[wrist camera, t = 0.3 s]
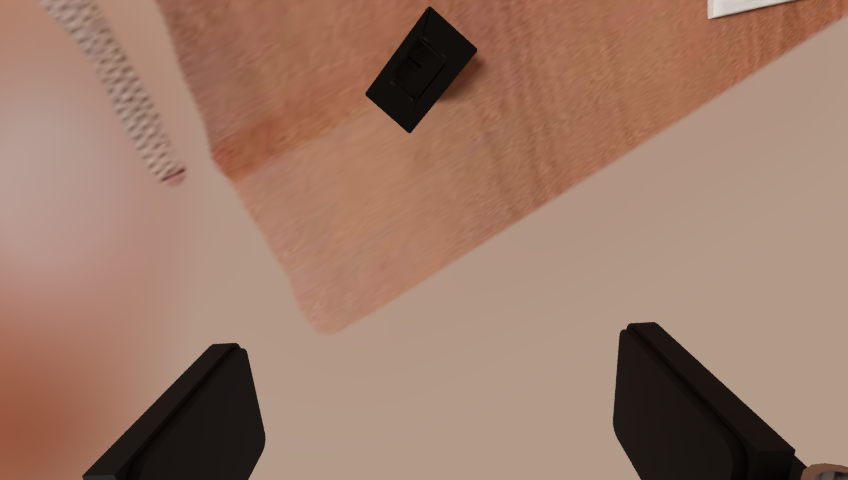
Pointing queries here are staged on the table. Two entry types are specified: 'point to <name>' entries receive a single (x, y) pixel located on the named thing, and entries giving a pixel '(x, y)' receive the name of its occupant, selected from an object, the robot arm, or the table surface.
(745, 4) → the external hard drive
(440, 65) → the black boxy piece
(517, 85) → the table surface
